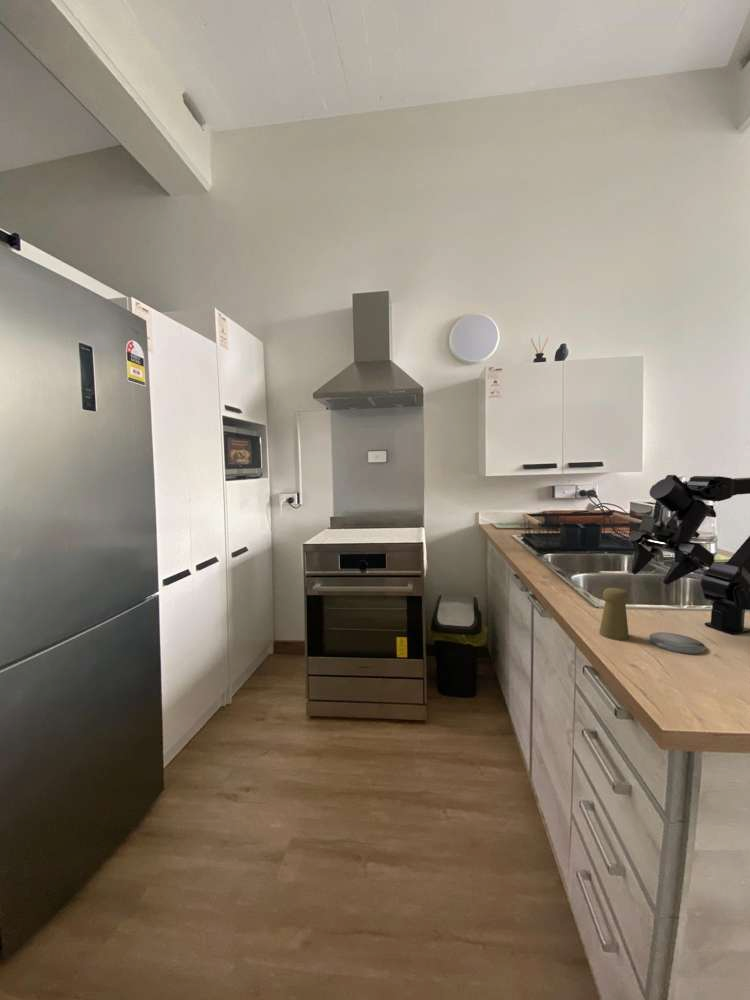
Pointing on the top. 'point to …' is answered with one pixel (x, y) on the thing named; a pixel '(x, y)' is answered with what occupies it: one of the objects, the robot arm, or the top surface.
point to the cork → (614, 614)
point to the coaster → (677, 643)
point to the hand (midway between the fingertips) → (648, 578)
